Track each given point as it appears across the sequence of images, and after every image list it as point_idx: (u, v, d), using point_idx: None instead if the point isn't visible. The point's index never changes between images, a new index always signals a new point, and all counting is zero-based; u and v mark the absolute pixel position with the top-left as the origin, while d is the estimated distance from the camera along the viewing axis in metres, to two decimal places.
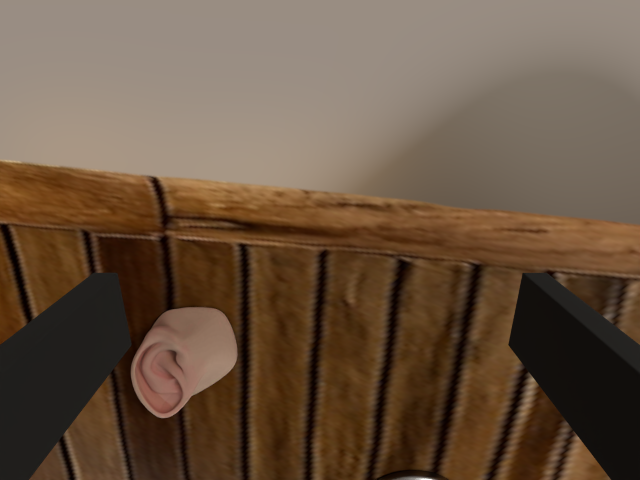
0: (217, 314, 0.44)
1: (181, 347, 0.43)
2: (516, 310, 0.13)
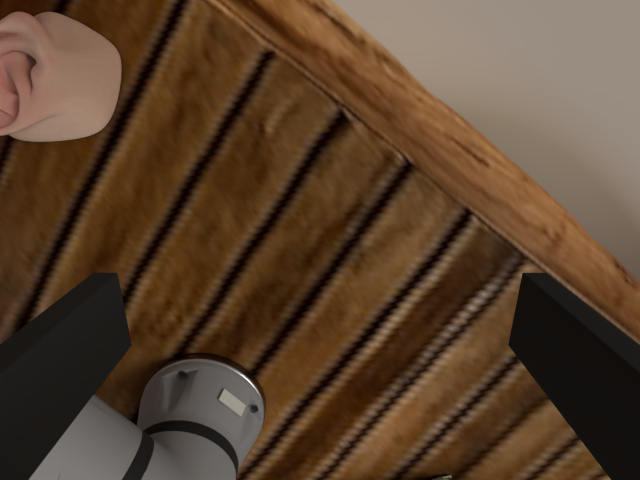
0: (112, 52, 0.35)
1: (45, 54, 0.33)
2: (516, 311, 0.13)
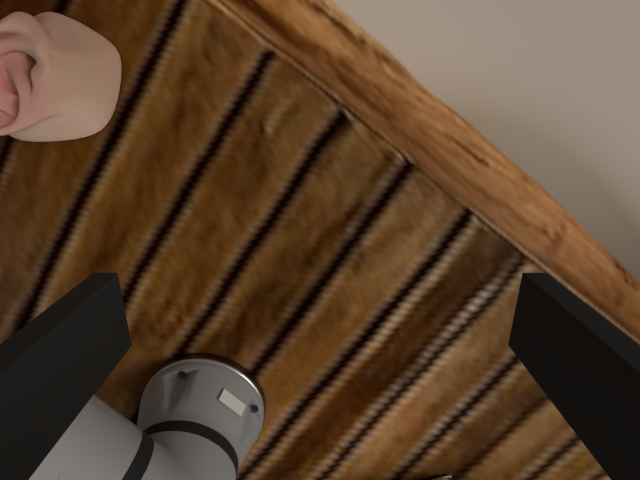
0: (112, 52, 0.35)
1: (45, 54, 0.33)
2: (516, 311, 0.13)
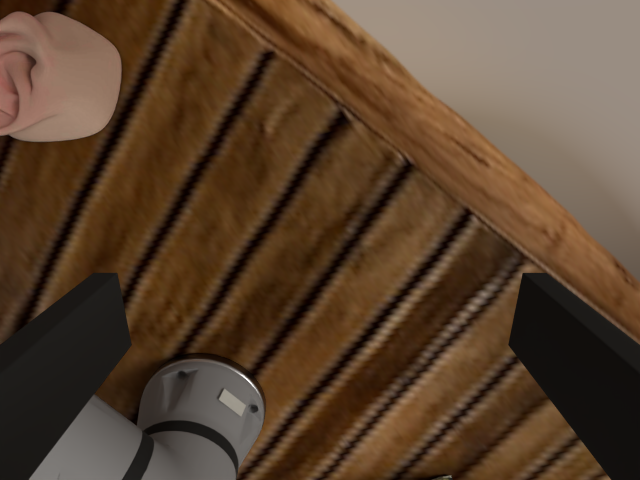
0: (112, 52, 0.35)
1: (45, 54, 0.33)
2: (516, 311, 0.13)
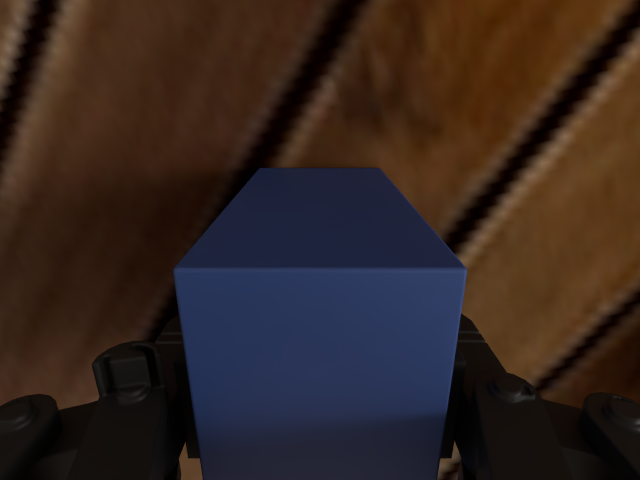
0: None
1: None
2: None
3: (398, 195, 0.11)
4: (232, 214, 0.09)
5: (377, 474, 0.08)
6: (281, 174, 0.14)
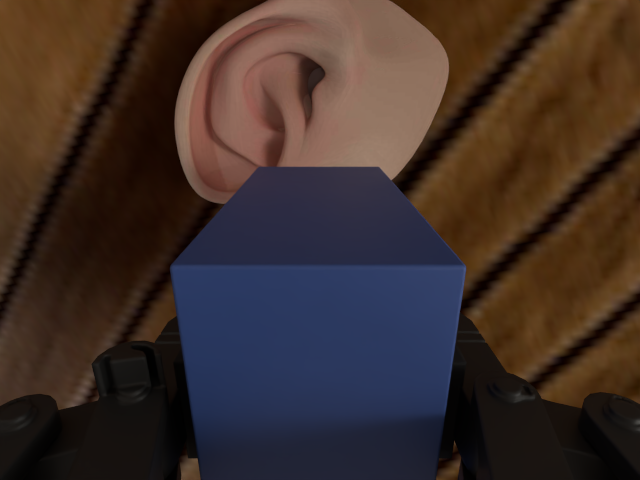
0: (443, 60, 0.20)
1: (355, 62, 0.18)
2: None
3: (397, 193, 0.11)
4: (230, 212, 0.09)
5: (376, 472, 0.08)
6: (280, 172, 0.13)
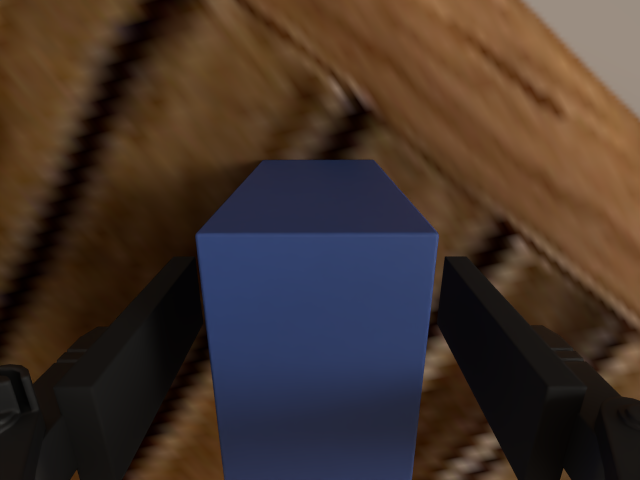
0: None
1: None
2: (442, 291, 0.14)
3: (388, 181, 0.12)
4: (241, 195, 0.10)
5: (367, 414, 0.09)
6: (283, 165, 0.15)
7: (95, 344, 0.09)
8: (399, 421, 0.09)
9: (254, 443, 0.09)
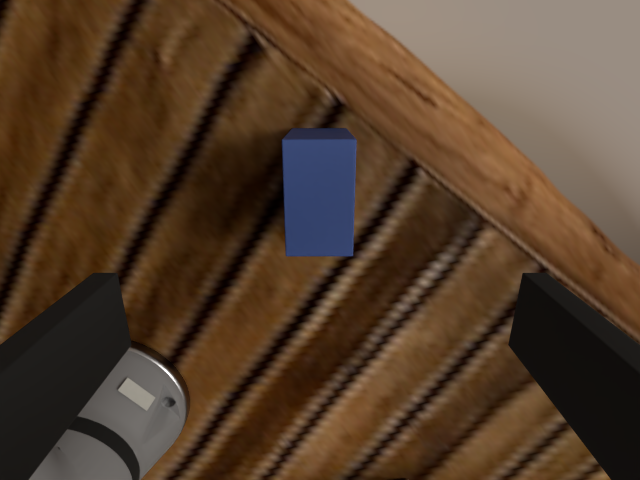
0: None
1: None
2: (516, 311, 0.13)
3: (348, 132, 0.29)
4: (290, 135, 0.27)
5: (336, 207, 0.26)
6: (302, 129, 0.32)
7: None
8: (347, 210, 0.26)
9: (296, 219, 0.26)
